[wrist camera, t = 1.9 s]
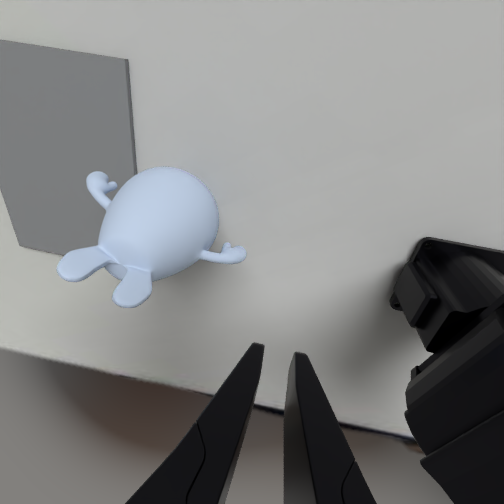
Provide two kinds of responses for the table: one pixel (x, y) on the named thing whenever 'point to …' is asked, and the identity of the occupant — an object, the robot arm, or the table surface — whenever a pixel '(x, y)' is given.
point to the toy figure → (149, 232)
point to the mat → (61, 141)
